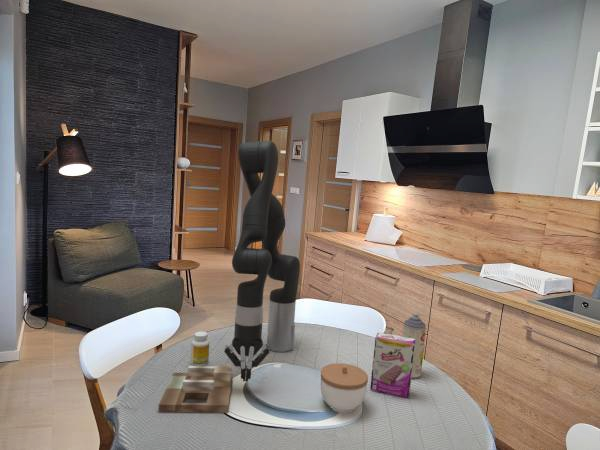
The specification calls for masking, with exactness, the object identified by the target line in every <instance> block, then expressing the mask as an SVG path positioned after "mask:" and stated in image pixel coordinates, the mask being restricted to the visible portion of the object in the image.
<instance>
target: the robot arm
mask: <svg viewBox="0 0 600 450" xmlns="http://www.w3.org/2000/svg"><path fill="white" fill-rule="evenodd" d="M237 149H238V152H237V153H238V154H237V155H238V156H237V157H238V162H239V166H240V169H241V173H242V175H243V178H244V181H245V184H246V187H247V189H248V193H249V196H250V198H249V199H248V200H247V202H246V205H245V206H244V208H243V209H244V210H243V213H242V221H241V222H242V223H241V233H240V238H239V241H238V243H237V246H236V248H235V251H234V254H233V257H232V260H231V266H232V269H233V270H234V272H235V273H236V274H239V275H240V274H243V275H257V276H256V278H254V279H252V280H248V281H247V280H246V281H243V282H240V283H239V284H238V286H237V295H236V306H235V315H234V334H233V335H234V337H233V339H232V342H231V343H230V344H229V345H226V346H224V350H223V351H224V353H225V355H226V356H227V357H228V358H229V360H230V361H231V363H232V364H233V365H234V366H235V367H237V368H238V367H239V368H240V379H241V380H242V381H243V382H249V380H251V378H252V368H256V367H258V366H260V364H261V363H262V362H263V361H264V360H265V359H266V357H267V356H269V354H270V353H271V351H272V352H278V353H283V352H284V353H285V352H289V351H294V345H295V344H294V343H295V341H294V340H295V329H296V328H295V327H296V323H295V319H296V317H295V316H296V301H297V294H298V289H299V280H300V271H301V263H300V260H299V258H298V257H297V256H295V255H287V254H282V253H280V252H279V248H278V247H279V246H278V243H279V240H280V238H281V237H282V234H283V233H284V231H285V228H286V217H285V212H284V208H283V205H282V204H281V202H280V200H279V199H278V198H277V196H275V195H274V194H273V190H274V186H275V181H276V177H277V172H278V167H279V166H278V165H279V152H278V148H277V145H276V143H275V142H274V141H272V140H261V141H248V142H242V143H241V144H240V145H239V146H238V148H237ZM259 174H262V176H261V178H260V175H259ZM259 242H261V244H262V248H253V247H252V248H251V247H250V248H249V245H251V244H254V243H259ZM268 277H269V278H270V279H271V280H275V281H279V282H284V283H283V287H280V288H275V289H273V290H271V291H270V294H269V301H268V302H269V305H268V322H267V323H268V324H267V334H266V337H267V339H266V345H265V344H264V342H263V341H264V340H263V339H262V338H263V337H262V335H263V334H262V332H263V322H264V321H263V320H264V316H263V315H264V310H263V309H264V307H263V305H264V304H263V301H264V291H265V290H264V289H265V285H266V281H267V278H268ZM234 351H236V353H237V355H239V356H240V359H239V357H238V356H237V355H236V353H235V352H234ZM259 351H260V353H259ZM257 353H259V354H258V355H257ZM256 355H257V356H256ZM254 356H256V357H255V359H253V358H254ZM246 357H247V358H246ZM246 359H247V363H246Z"/></svg>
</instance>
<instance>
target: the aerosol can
mask: <svg viewBox="0 0 600 450" xmlns="http://www.w3.org/2000/svg"><path fill="white" fill-rule="evenodd" d="M402 326H403V327H402V337H407V338H412V339H415V340H416V341H415V350H414V359H413V368H412V377H411V380H419V379H421V377H422V369H423V358H424V350H425V349H424V348H425V340H426V339H425V338H426V332H427V330H426V329H427V327H426V323H425V322H423V319H421V318H420V316H419V313H417V312H413V313H412V316H410V317H409V318H408V319H406V320H404V322H403V325H402Z"/></svg>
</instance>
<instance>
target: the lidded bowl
mask: <svg viewBox="0 0 600 450" xmlns="http://www.w3.org/2000/svg"><path fill="white" fill-rule="evenodd" d="M368 381H369V375H368V373H367V372H366V371H365V370H364V369H363V368H360V367H359V366H357V365H356V366H355V365H353V364H348V363H340V362H339V363H338V362H337V363H330V364H327V365H325V366H324V367H322V368H321V370H320V392H321V396H322V398H323V400H324V401H325V403H326V404H327V405H328V407H329V406H330V407H332V408H333V409H334V410H333V411H334V412H336V413H339V414H349V413H352V412H353V411H354V410H356V409H357V408H358V407H359V406H360V405H361V404H362V402H364V399H365V397H366V394H367V393H366V392H367V387H368ZM330 407H329V408H330Z"/></svg>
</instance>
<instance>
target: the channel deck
mask: <svg viewBox="0 0 600 450" xmlns="http://www.w3.org/2000/svg"><path fill="white" fill-rule="evenodd" d="M215 366H216V365H215ZM215 366H212V365H210V366H208V365H204V366H195V365H189V366H188V368H187V369H188V371H187V372H172V375H171V377H170V379H169V381H168V384H167V385H166V388H165V390H164V393H163V394H162V397H161V399H160V401H159V403H158V413H191V414H192V413H195V414H196V413H197V414H199V413H200V414H201V413H205V414H206V413H208V414H211V413H213V414H216V413H217V414H218V413H219V414H220V413H221V414H228V413H229V408H230V400H231V394H232V386H233V376H234V375H233V373H231V383H230V387H214V370H215Z"/></svg>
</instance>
